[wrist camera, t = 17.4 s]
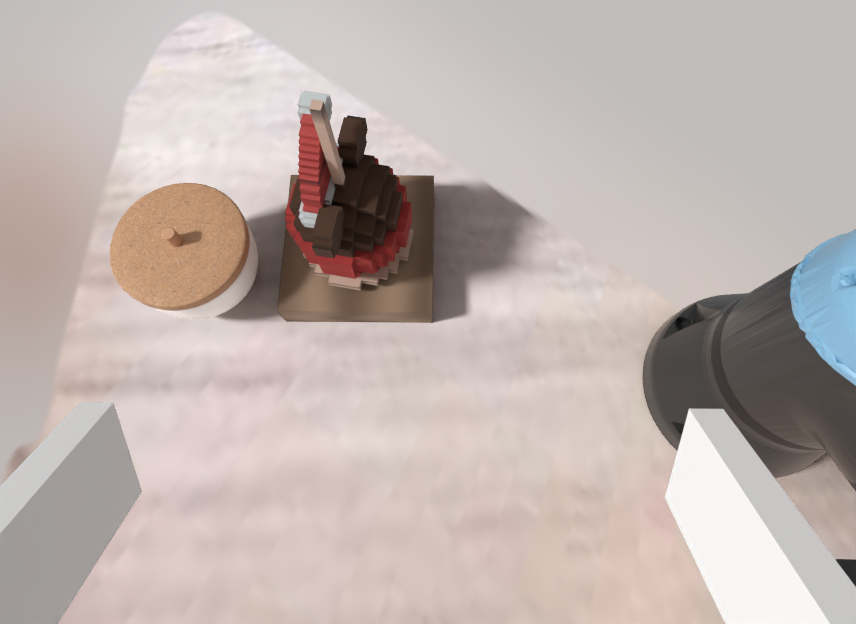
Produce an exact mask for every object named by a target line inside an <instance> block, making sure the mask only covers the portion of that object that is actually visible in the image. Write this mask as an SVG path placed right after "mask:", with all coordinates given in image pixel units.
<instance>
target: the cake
mask: <svg viewBox="0 0 856 624" xmlns="http://www.w3.org/2000/svg"><path fill="white" fill-rule="evenodd" d="M298 107H299V110H298V115H299V117H300V120H301V121H300V123H301V128H300V132H299V136H300V139H299V144H300V146H299V152H300V153H299V164H298V165H299V171H298V172H299V176H298V178H297V181H296V184H295V183H294V185H293V188H292V191H291V195H290V198H289V202H288V205H287V208H286V212H285V214H286V218H285V220H286V222H287V226H286V228H287V230H288V231H289V233H290V235H291V236H292V237H293V239H294V240H295V242H296V244H297V245H298V246H299V247H300V249H301V251H302V253H303V256H304V258H306V259H307V260H308V262H309V265H310V267H315V272H314V273H315V274H316V275H318V276H323V277H329V281H328V283H329V285H331V286H337V287H343V288H349V289H354V290H360V291H361V287H362V283H364V284H370V285H376V286H378V283H379V279H385V280H387V279H388V274H389V273H394V274H397V270H398V265H399V261H400V260H406V261H408V256H409V251H410V247H411V242H412V237H413V229H410V227H411V222H412V209H411V202H407V193H406V186H404V185H400V180H399V177H396V175H393V168H390V166H384V165H379V163H378V159H377V158H374V156H370V155H364V151H365V147H366V143H367V142H366V133H367V124H366V119H365V118H361V117H354V116H347V118H345V117H344V119H343V123H342V127H341V130H340V134H339V138H338V143H336V142H335V139H334V136H333V132H332V129H331V125H330V122H329V121H330V118H331V114H332V111H331V108H332V102H331V98H330V95H328V94H322V93H315V92H308V91H304V92H301V96H300V99H299V102H298Z"/></svg>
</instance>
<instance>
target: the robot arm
mask: <svg viewBox="0 0 856 624" xmlns="http://www.w3.org/2000/svg"><path fill="white" fill-rule="evenodd" d="M643 387H644V393H645V398H646V402H647V405H648V408H649V410H650V413H651V415H652V417H653V419H654V421H655V423H656V425H657V426H658V428H659V430H660V431H661V433H662V434H663V435H664V437H665V438H666V439H667V440H668V442H669V443H670V444H671V445H672V446H673V447H674V448H675V449H676V450H677V455H676V459H675V463H674V466H673V470H672V474H671V477H670V481H669V485H668V489H667V492H666V496H665V499H666V501H667V503H668V505H669V507H670V510H671V512H672V514H673V516H674V518H675V520H676V522H677V524H678V526H679V528H680V530H681V532H682V535H683V537H684V539H685V541H686V543H687V545H688V547H689V549H690V551H691V553H692V555H693V557H694V560H695V562H696V564H697V566H698V568H699V570H700V572H701V574H702V576H703V578H704V580H705V582H706V585H707V587H708V589H709V591H710V593H711V595H712V597H713V599H714V601H715V603H716V605H717V607H718V610H719V612H720V614H721V616H722V618H723V620H724V622H725V624H856V560H846V559H834V557H833V556H832V555H831V553H830V552H829V550H828V549H827V548H826V546H825V545H824V544H823V542H822V541H821V540H820V538H819V537H818V536H817V534H816V533H815V532H814V530H813V529H812V528H811V526H810V525H809V524H808V522H807V521H806V520H805V518H804V517H803V516H802V514H801V513H800V512H799V510H798V509H797V507H796V506H795V505H794V503H793V502H792V501H791V499H790V498H789V497H788V495H787V494H786V493H785V491H784V490H783V489H782V487H781V486H780V485H779V483H778V482H777V481H776V479H775V478H779V477H783V476H787V475H790V474H793V473H795V472H798V471H800V470H802V469H804V468H806V467H808V466H809V465H811V464H812V463H813V462H815V461H816V460H817V459H819V458H820V457H821V456H823V455H824V454H825V453H828V455H829V456H830V457H831V459H832V460H833V461H834V463H835V464H836V465H837V467H838V468H839V469H840V471H841V472H842V474H843V475H844V476H845V478H846V479H847V480H848V481H849V483H850V484H851V485H852V487H853V488H854V490H855V491H856V229H855V230H853V231H851V232H849V233H847V234H842V235H839V236H837V237H834V238H832V239H829V240H827V241H825V242H823V243H822V244H820V245H819V246H817V247H816V248H814V249H813V250H812V251H811V252H809V253H808V254H807V255H806V256H805V258H804V260H802V262H800V263H798V264H797V265H795V266H793V267H792V268H790V269H788V270H787V271H785V272H783V273H782V274H780V275H778V276H777V277H775V278H773V279H772V280H770V281H768V282H767V283H765V284H763V285H761V286H760V287H758V288H756V289H755V290H753V291H752V292H750V293H746V294H731V295H719V296H714V297H710V298H706V299H703V300H700V301H697V302H695V303H693V304H691V305H689V306H687V307H686V308H684V309H682V310H681V311H679V312H678V313H677V314H675V315H674V316H672V317H671V318H670V319H669V320H667V321H666V322H665V323H664V324H663V325H662V326H661V327H660V329H659V330H658V331H657V332H656V334H655V335H654V337H653V339H652V341H651V342H650V345H649V347H648V350H647V353H646V356H645V360H644V366H643ZM141 492H142V490H141V487H140V484H139V481H138V478H137V475H136V472H135V469H134V466H133V462H132V459H131V456H130V453H129V450H128V447H127V444H126V441H125V438H124V434H123V431H122V428H121V425H120V422H119V419H118V416H117V413H116V409H115V406H114V403H103V402H80V403H79V404H78V405H77V406H76V407H75V408H74V409H73V410H72V411H71V412H70V414H69V415H68V416H67V417H66V418H65V419H64V420H63V421H62V422H61V423H60V424H59V425H58V426H57V427H56V428H55V429H54V430H53V431H52V432H51V433H50V435H49V436H48V437H47V438H46V439H45V440H44V441H43V442H42V443H41V444H40V445H39V446H38V447H37V448H36V449H35V450H34V451H33V452H32V453H31V455H30V456H29V457H28V458H27V459H26V460H25V461H24V462H23V463H22V464H21V465H20V466H19V467H18V468H17V469H16V470H15V471H14V472H13V473H12V474H11V476H10V477H9V478H8V479H7V480H6V481H5V482H4V483H3V484H2V485H1V486H0V624H58V622H59V621H60V619H61V617H62V616H63V614H64V613H65V611H66V610H67V608H68V606H69V605H70V603H71V602H72V600H73V599H74V597H75V595H76V594H77V592H78V591H79V589H80V588H81V586H82V585H83V583H84V581H85V580H86V578H87V577H88V575H89V574H90V572H91V570H92V569H93V567H94V566H95V564H96V563H97V561H98V559H99V558H100V556H101V555H102V553H103V552H104V550H105V548H106V547H107V545H108V544H109V542H110V541H111V539H112V537H113V536H114V534H115V533H116V531H117V530H118V528H119V526H120V525H121V523H122V522H123V520H124V519H125V517H126V515H127V514H128V512H129V511H130V509H131V508H132V506H133V504H134V503H135V501H136V500H137V498H138V497H139V495H140V493H141Z"/></svg>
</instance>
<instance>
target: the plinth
mask: <svg viewBox="0 0 856 624" xmlns="http://www.w3.org/2000/svg"><path fill="white" fill-rule="evenodd" d="M298 176H299V175H291V179H290V189H289V198H290V195H291V191H292V188H293V185H294V183H295V184H296V181H297V178H298ZM396 177H399V180H400V185H404V186H406V193H407V202H411V209H412V222H411V227H410V229H413V237H412V242H411V247H410V251H409V256H408V261H406V260H400V261H399V265H398V270H397V274H394V273H389V274H388V279H387V280H385V279H379V283H378V286H376V285H370V284H364V283H362V287H361V291H360V290H354V289H349V288H343V287H337V286H331V285H329V283H328V281H329V277H323V276H318V275H316V274H315V273H314V272H315V267H310V265H309V262H308V260H307V259H306V258H304V256H303V253H302V251H301V249H300V247H299V246H298V245H297V244H296V242H295V240H294V239H293V237H292V236H291V235H290V233H289V231H288V230H287V228H286V229H285V239H284V249H283V259H282V270H281V280H280V290H279V300H278V310H277V311H278V312H279V313H280V315H281V316H282V317H283V318H284V319H285V320H286V321H306V322H429V323H432V320H433V218H434V176H396ZM288 202H289V199H288ZM286 226H287V222H286Z"/></svg>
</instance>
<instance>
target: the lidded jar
mask: <svg viewBox="0 0 856 624" xmlns="http://www.w3.org/2000/svg"><path fill="white" fill-rule="evenodd" d="M110 262H111V267H112V271H113V274H114V276H115V278H116V280H117V282H118V283H119V284H120V286H121V287H122V288H123V290H124V291H126V292H127V293H128V294H129V295H130V296H131V297H133V298H134V299H136V300H138V301H139V302H141V303H143V304H145V305H147V306H150V307H152V308H154V309H156V310H158V311H160V312H162V313H165V314H168V315H171V316H174V317H179V318H184V319H205V318H210V317H214V316H218V315H220V314H222V313H225V312H227V311H228V310H230V309H232V308H233V307H235V306H236V305H237V304H238V303H240V302H241V300H242V299H243V298H244V297H245V296H246V295H247V293H248V292H249V291H250V289H251V287H252V285H253V283H254V280H255V277H256V274H257V269H258V252H257V247H256V242H255V240H254V237H253V234H252V232H251V229H250V228H249V226H248V224H247V223H246V221H245V218H244V216H243V215H242V213H241V211H240V210H239V208H238V207H237V205H236V204H235V203H234V202H233V201H232V200H231V199H230V198H229V197H228V196H226V195H225V194H224V193H222V192H221V191H219V190H217V189H215V188H212V187H209V186H206V185H202V184H196V183H180V184H173V185H169V186H165V187H162V188H159V189H156V190H154V191H152V192H150V193H149V194H147V195H145V196H144V197H142V198H141V199H139V200H138V201H136V202H135V203H134V204H133V205H132V206H131V207H130V208H129V209H128V210H127V212H126V213H125V214H124V215H123V216H122V218H121V220H120V221H119V223H118V225H117V227H116V229H115V231H114V234H113V237H112V241H111V245H110Z"/></svg>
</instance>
